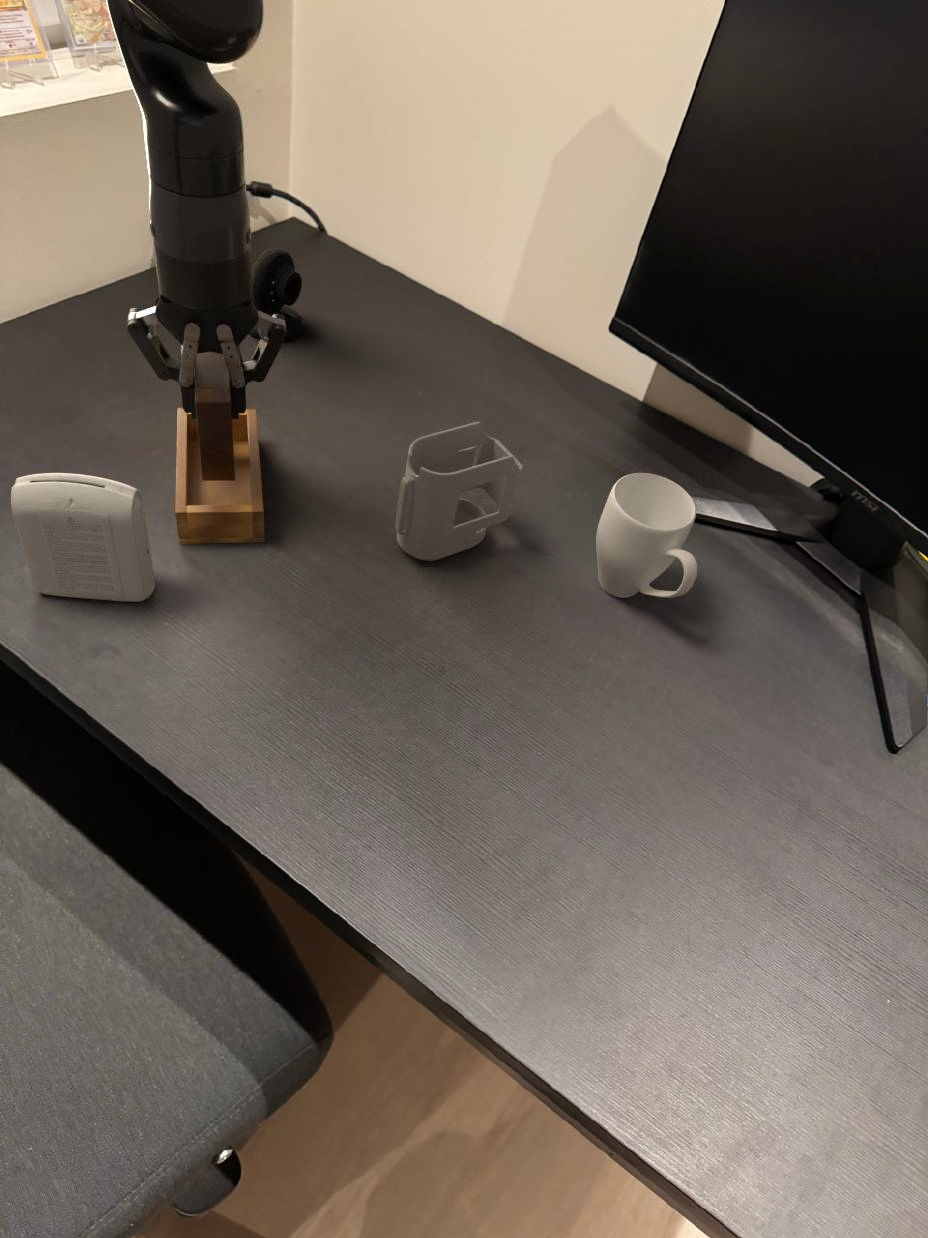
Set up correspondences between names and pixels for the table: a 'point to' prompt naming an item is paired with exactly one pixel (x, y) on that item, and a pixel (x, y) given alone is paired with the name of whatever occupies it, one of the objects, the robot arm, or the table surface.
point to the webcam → (277, 289)
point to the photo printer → (83, 536)
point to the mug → (644, 535)
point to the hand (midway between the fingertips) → (215, 413)
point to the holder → (219, 487)
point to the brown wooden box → (214, 417)
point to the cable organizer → (452, 491)
